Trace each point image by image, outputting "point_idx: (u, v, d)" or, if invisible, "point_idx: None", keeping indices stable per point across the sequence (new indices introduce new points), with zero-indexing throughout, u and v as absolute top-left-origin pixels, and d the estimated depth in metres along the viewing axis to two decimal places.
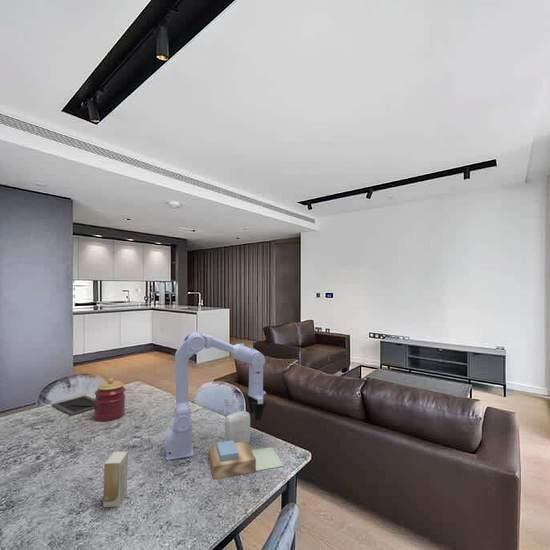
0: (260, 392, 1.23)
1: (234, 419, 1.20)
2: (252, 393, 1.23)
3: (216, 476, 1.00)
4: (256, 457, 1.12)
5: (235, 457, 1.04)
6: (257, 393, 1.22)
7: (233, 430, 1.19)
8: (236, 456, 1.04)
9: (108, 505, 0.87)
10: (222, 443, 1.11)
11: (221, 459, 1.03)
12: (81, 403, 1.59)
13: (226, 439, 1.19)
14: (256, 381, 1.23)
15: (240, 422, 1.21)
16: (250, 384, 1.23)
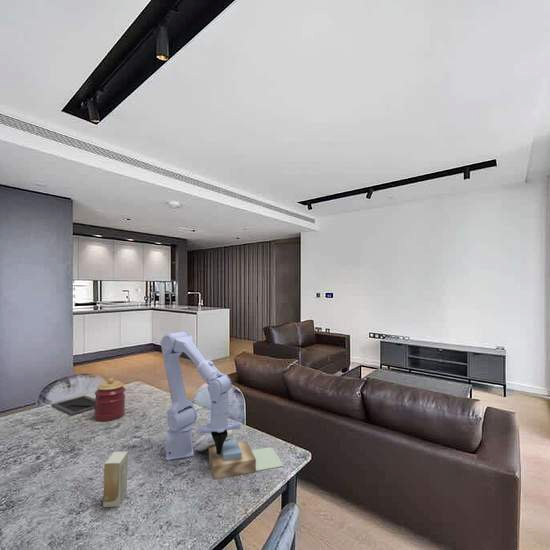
0: (212, 425, 1.05)
1: (200, 450, 1.15)
2: None
3: (216, 476, 1.00)
4: (256, 457, 1.12)
5: (238, 457, 1.04)
6: (210, 424, 1.07)
7: None
8: (239, 456, 1.05)
9: (108, 505, 0.87)
10: (225, 443, 1.11)
11: (224, 459, 1.03)
12: (81, 403, 1.60)
13: None
14: (212, 412, 1.05)
15: (206, 448, 1.14)
16: None
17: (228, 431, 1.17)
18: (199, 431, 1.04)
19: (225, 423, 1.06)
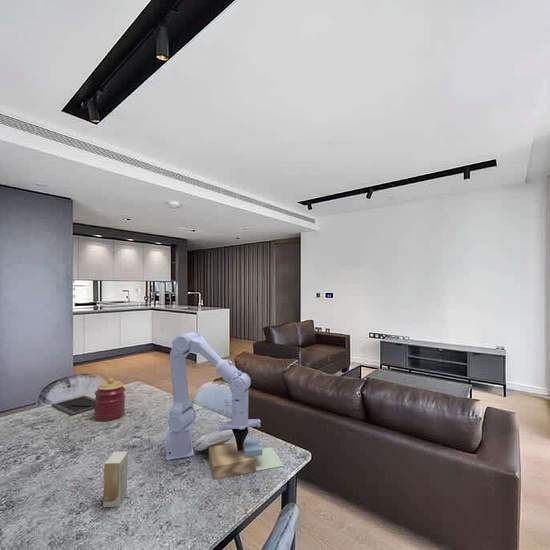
0: (233, 422, 1.08)
1: (200, 450, 1.15)
2: None
3: (216, 476, 1.00)
4: (256, 457, 1.12)
5: (259, 453, 1.07)
6: (231, 421, 1.09)
7: None
8: (260, 453, 1.07)
9: (108, 505, 0.87)
10: (245, 440, 1.13)
11: (246, 455, 1.05)
12: (81, 403, 1.60)
13: None
14: (235, 410, 1.07)
15: (206, 448, 1.14)
16: None
17: (228, 431, 1.17)
18: (221, 428, 1.07)
19: (246, 420, 1.08)
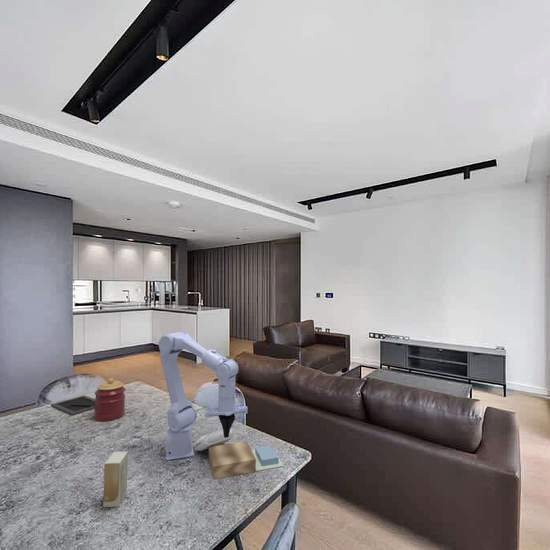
0: (219, 409, 1.06)
1: (200, 450, 1.15)
2: None
3: (216, 476, 1.00)
4: (256, 457, 1.12)
5: (264, 461, 1.07)
6: (218, 408, 1.08)
7: None
8: (263, 462, 1.07)
9: (108, 505, 0.87)
10: None
11: (277, 459, 1.09)
12: (81, 403, 1.60)
13: None
14: (221, 396, 1.06)
15: (206, 448, 1.14)
16: None
17: None
18: (207, 414, 1.05)
19: (233, 407, 1.07)
